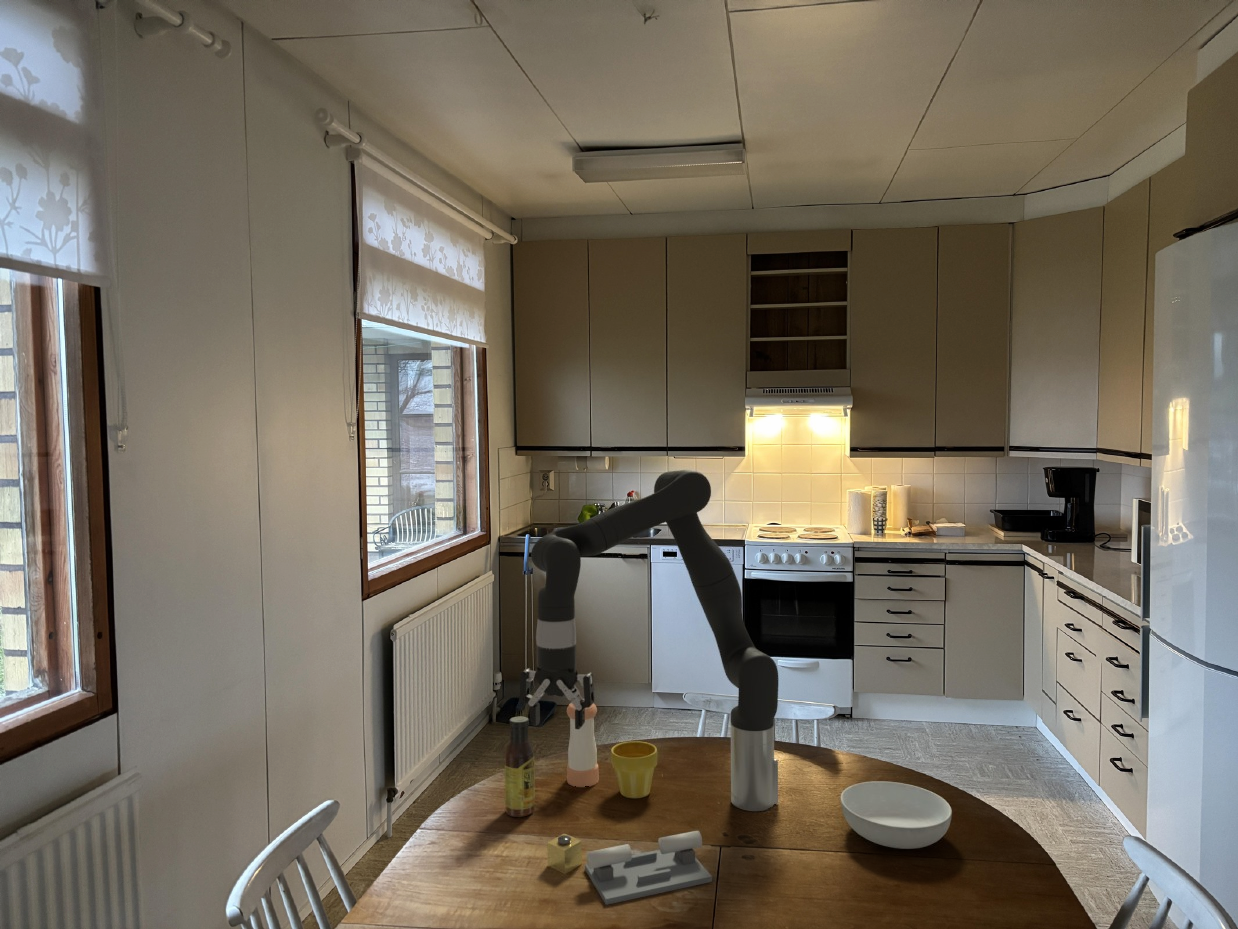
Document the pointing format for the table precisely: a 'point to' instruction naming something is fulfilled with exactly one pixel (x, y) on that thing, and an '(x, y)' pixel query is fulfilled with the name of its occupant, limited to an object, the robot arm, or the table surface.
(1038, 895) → the table surface
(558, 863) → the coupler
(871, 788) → the serving bowl
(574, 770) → the pepper shaker
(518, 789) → the sauce bottle
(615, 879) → the twin roller base
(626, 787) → the plant pot
